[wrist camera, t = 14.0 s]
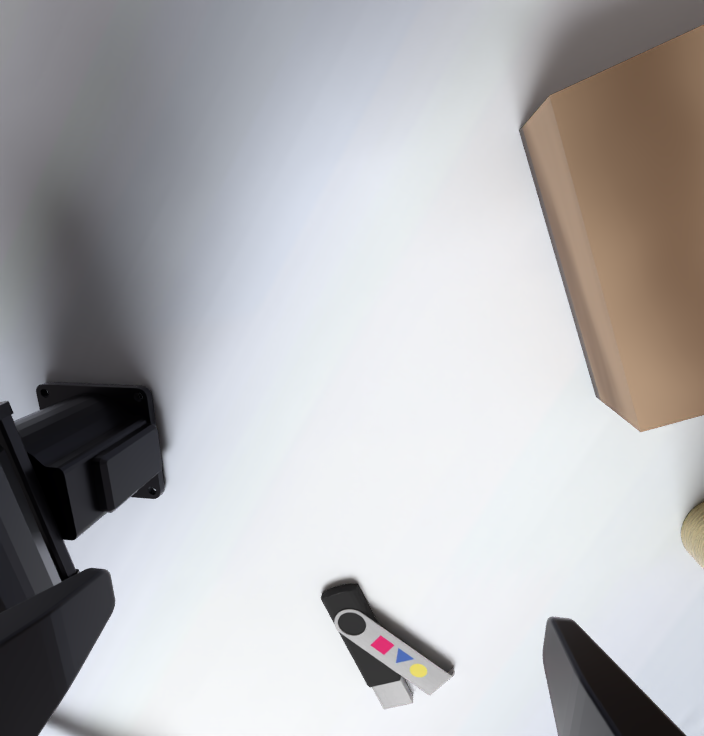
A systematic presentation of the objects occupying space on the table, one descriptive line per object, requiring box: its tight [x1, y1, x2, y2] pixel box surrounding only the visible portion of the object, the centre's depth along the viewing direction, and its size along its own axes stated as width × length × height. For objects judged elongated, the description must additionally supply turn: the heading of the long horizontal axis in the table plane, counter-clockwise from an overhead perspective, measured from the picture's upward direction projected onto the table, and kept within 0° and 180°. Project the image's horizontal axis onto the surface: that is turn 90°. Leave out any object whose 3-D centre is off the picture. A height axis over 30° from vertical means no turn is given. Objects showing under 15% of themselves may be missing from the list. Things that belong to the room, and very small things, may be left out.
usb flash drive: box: [321, 584, 455, 709], centre depth 25 cm, size 9×5×1 cm, turn 26°
